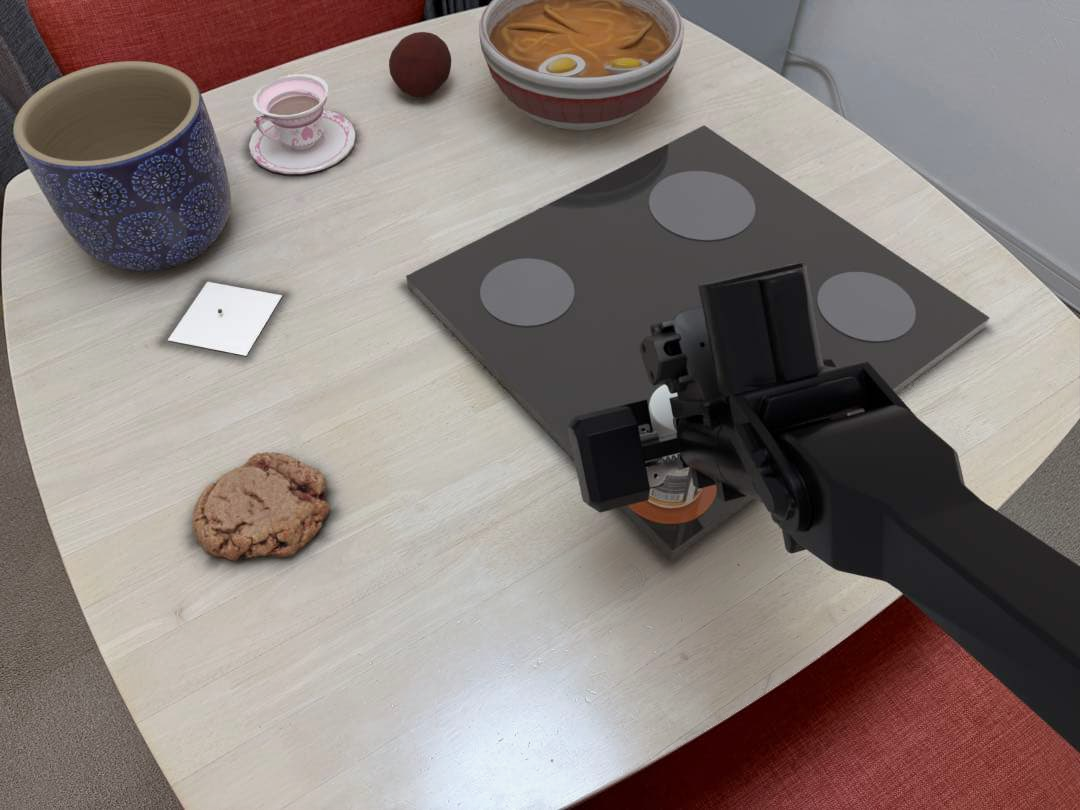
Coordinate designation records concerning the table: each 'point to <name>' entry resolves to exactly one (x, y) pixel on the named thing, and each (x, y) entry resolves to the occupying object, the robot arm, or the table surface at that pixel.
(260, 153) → the teacup
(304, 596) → the table surface
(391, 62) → the potato
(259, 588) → the table surface
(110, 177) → the planter
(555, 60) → the bowl
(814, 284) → the hob
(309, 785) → the table surface
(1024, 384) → the table surface
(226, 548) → the cookie
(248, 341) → the coaster
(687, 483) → the pill bottle
